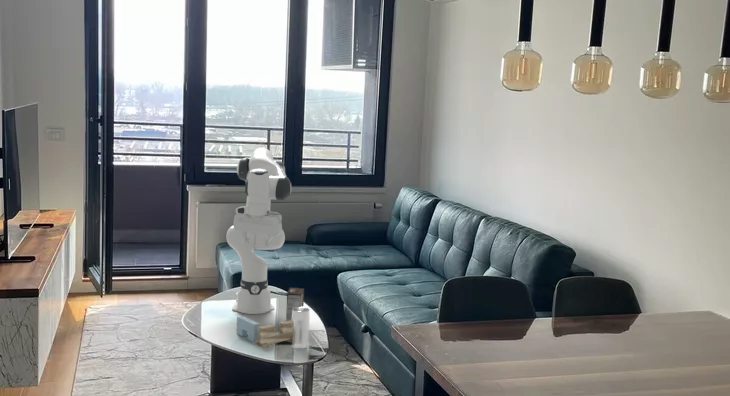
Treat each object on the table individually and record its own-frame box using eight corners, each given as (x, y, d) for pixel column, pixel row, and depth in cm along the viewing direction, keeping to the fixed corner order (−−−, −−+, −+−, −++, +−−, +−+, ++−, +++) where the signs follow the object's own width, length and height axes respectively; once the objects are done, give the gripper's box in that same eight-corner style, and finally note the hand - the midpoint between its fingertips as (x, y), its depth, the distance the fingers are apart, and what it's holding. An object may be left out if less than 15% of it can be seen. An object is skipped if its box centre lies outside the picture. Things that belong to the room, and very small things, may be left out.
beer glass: (305, 351, 263) (307, 312, 262) (287, 348, 265) (289, 310, 263) (310, 345, 270) (312, 307, 268) (293, 343, 272) (294, 306, 270)
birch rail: (255, 343, 269) (255, 325, 268) (288, 335, 280) (289, 318, 279) (264, 347, 265) (264, 330, 264) (297, 339, 276) (298, 322, 275)
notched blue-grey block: (236, 333, 279) (237, 316, 278) (241, 332, 281) (242, 315, 280) (253, 341, 270) (253, 324, 270) (258, 340, 272) (259, 323, 271)
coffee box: (288, 324, 295) (289, 287, 292) (303, 324, 294) (304, 288, 292) (285, 330, 286) (286, 292, 283) (300, 331, 285) (302, 293, 283)
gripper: (285, 211, 275) (284, 245, 276) (239, 206, 281) (238, 240, 283) (278, 213, 269) (277, 248, 270) (231, 208, 275) (230, 242, 277)
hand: (257, 244), depth 277 cm, fingers open, 8 cm apart
